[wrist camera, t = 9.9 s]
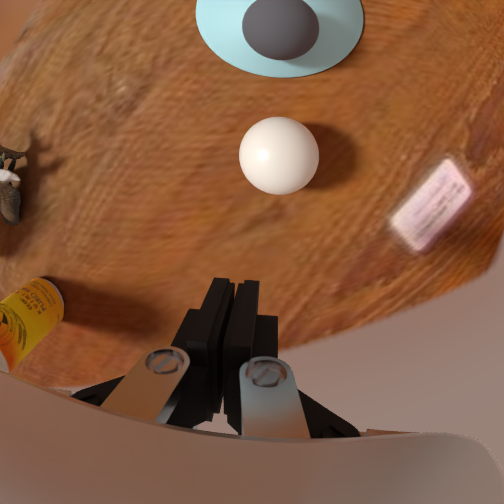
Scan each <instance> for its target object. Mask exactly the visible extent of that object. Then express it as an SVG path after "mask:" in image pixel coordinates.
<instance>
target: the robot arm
mask: <svg viewBox="0 0 504 504" xmlns="http://www.w3.org/2000/svg"><path fill="white" fill-rule="evenodd" d="M234 295H235V284H234V283H230V281H229V279H227V278H214V279H213V281H212V284H211V286H210V288H209V290H208V293H207V295H206V297H205V299H204V301H203V304H202V306H201V308H200V310H199V309H189V310H188V312H187V314H186V316H185V318H184V320H183V322H182V324H181V326H180V328H179V330H178V332H177V334H176V336H175V338H174V340H173V342H172V344H171V346H159V347H155V348H152V349H150V350H148V351H147V352H146V353H145V354H143V355H142V357H141V358H140V359H139V360H138V361H137V363H136V364H135V365H134V366H133V367H132V369H131V370H130V371H129V372H128V373H127V375H125V376H122V377H119V378H116V379H113V380H110V381H107V382H104V383H101V384H98V385H95V386H92V387H89V388H85V389H82V390H80V391H78V392H76V393H75V394H74V395H73V393H72V391H69V390H62V389H55V388H49V387H43V386H40V385H38V384H35V383H33V382H31V381H28V380H25V379H23V378H20V377H18V376H16V375H13V374H10V373H7V372H4V371H1V370H0V504H504V470H503V469H502V467H501V465H500V463H499V462H498V460H497V458H496V457H495V455H494V454H493V452H492V451H491V450H490V449H489V448H488V447H487V446H486V445H485V444H484V443H482V442H481V441H479V440H478V439H475V438H472V437H469V436H464V435H459V434H451V433H438V432H422V433H419V432H418V433H417V432H397V431H384V430H372V429H367V430H366V432H359V431H358V430H357V429H356V428H355V427H354V426H353V425H351V424H350V423H348V422H347V421H345V420H343V419H342V418H340V417H339V416H337V415H336V414H334V413H333V412H331V411H329V410H328V409H327V408H325V407H323V406H322V405H321V404H319V403H318V402H316V401H314V400H313V399H312V398H310V397H308V396H307V395H306V394H304V393H303V392H301V391H300V390H298V389H297V386H296V383H295V379H294V375H293V372H292V370H291V368H290V366H289V365H288V364H287V363H285V362H284V361H282V360H280V359H278V316H268V315H257V313H258V297H259V281H254V280H245V281H244V284H242V283H239V284H238V288H237V292H236V295H235V299H234ZM223 397H224V398H223ZM222 399H223V400H224V414H226V415H227V422H228V424H229V425H230V426H231V427H232V428H233V429H235V430H236V431H237V432H238V435H234V434H225V433H217V432H209V431H202V430H198V424H200V423H202V422H204V421H210V422H212V418H213V414H214V413H220V408H221V403H222Z"/></svg>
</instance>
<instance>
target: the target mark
mask: <svg viewBox="0 0 504 504" xmlns="http://www.w3.org/2000/svg"><path fill="white" fill-rule="evenodd" d="M255 1H256V0H198V1H197V5H196V20H197V25H198V28H199V31H200V33H201V35H202V37H203V39H204V41H205V42H206V43H207V45H208V46H209V47H210V48H211V49H212V50H213V51H214V52H215V54H217V55H218V56H219V57H220V58H222V59H223V60H224V61H226V62H228V63H229V64H231V65H233V66H235V67H237V68H239V69H241V70H244V71H247V72H250V73H253V74H257V75H262V76H267V77H276V78H292V77H302V76H307V75H312V74H315V73H318V72H321V71H324V70H326V69H328V68H330V67H332V66H334V65H335V64H337V63H339V62H340V61H341V60H342V59H344V58H345V57H346V56H347V55H348V54H349V53H350V52H351V51H352V49H353V48H354V47H355V45H356V44H357V42H358V40H359V38H360V35H361V33H362V28H363V11H362V6H361V3H360V0H303V1H304V2H306V3H307V4H308V5H309V6H310V7H311V8H312V9H313V11H314V12H315V14H316V16H317V18H318V21H319V35H318V39H317V41H316V43H315V44H314V46H313V47H312V48H311V49H310V50H309V51H308V52H307V53H305V54H304V55H302V56H300V57H298V58H295V59H291V60H273V59H269V58H266V57H264V56H262V55H260V54H258V53H257V52H256V51H254V50H253V49H252V48H251V47H250V46H249V44H248V43H247V42H246V40H245V38H244V35H243V31H242V21H243V17H244V14H245V12H246V11H247V9H248V8H249V6H250V5H251V4H252V3H254V2H255Z"/></svg>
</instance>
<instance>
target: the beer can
mask: <svg viewBox="0 0 504 504" xmlns="http://www.w3.org/2000/svg"><path fill="white" fill-rule="evenodd" d="M63 315H64V302H63V298H62V296H61V294H60V292H59V290H58V289H57V288H56V286H55V285H54V284H53V283H51V282H50V281H48V280H46V279H42V278H34V279H32V280H31V281H29V282H28V283H26V284H25V285H23V286H22V287H21V288H19V289H18V290H16V291H15V292H14V293H12V294H11V295H9V296H8V297H7V298H5V299H4V300H3V301H1V302H0V370H1V371H4V372H7V373H10V372H11V371H12V370H13V369H14V368H15V367H16V366H17V365H18V364H19V363H20V361H21V360H22V359H23V358H24V357H25V356H26V355H27V354H28V353H29V352H30V351H31V350H32V349H33V348H34V347H35V346H36V345H37V344H38V343H39V342H40V341H41V340H42V339H43V338H44V337H45V336H46V335H47V334H48V333H49V332H50V331H51V330H52V329H53V328H54V327H55V326H56V325H57V324H58V323H59V322H60V321H61V320H62V318H63Z"/></svg>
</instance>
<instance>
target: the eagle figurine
mask: <svg viewBox="0 0 504 504" xmlns="http://www.w3.org/2000/svg"><path fill="white" fill-rule="evenodd" d="M24 155H26V152H15V151H13V150H10V149H7V148H4V147H2V146H1V145H0V212H1V214H2V216H3V217H4V221H6V223H7V224H10V225H12V224H13V225H15V224H16V225H18V223H19V220H20V218H19V205H20V203H21V198H20V193H19V191H18V190H16V189H15V187H12V183H11V181H20V178H19V177H18V175H17V174H15V173H13V172H14V168H15V164H16V160H17V159H20V158H21V157H23V156H24ZM8 158H10V159H12V162H11V163H10V165H9V167H8V169H3V167H4V161H5V160H6V159H8Z"/></svg>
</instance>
